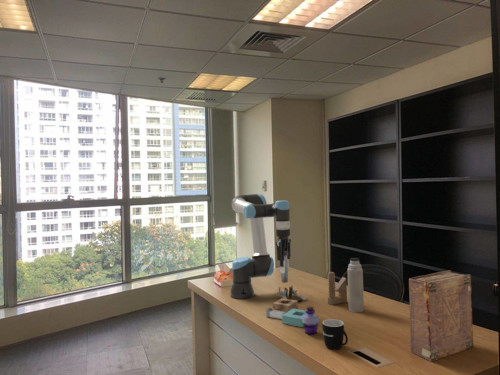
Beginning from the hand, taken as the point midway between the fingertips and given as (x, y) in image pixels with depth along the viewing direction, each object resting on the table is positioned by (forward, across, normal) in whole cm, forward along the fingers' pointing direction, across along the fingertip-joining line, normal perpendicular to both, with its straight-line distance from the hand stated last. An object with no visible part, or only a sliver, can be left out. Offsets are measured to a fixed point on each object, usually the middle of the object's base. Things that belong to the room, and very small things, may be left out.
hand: (284, 271), depth 205 cm
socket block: (+22, -11, -13) cm, 27 cm away
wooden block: (+22, +26, -20) cm, 39 cm away
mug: (+22, -31, -40) cm, 55 cm away
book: (+22, -13, -78) cm, 82 cm away
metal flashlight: (+6, 0, 0) cm, 6 cm away
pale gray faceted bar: (+21, -11, -2) cm, 24 cm away
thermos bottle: (+22, +19, -33) cm, 44 cm away
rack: (+22, 0, 0) cm, 22 cm away
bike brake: (+22, +19, +5) cm, 30 cm away
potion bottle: (+22, -21, -24) cm, 39 cm away
